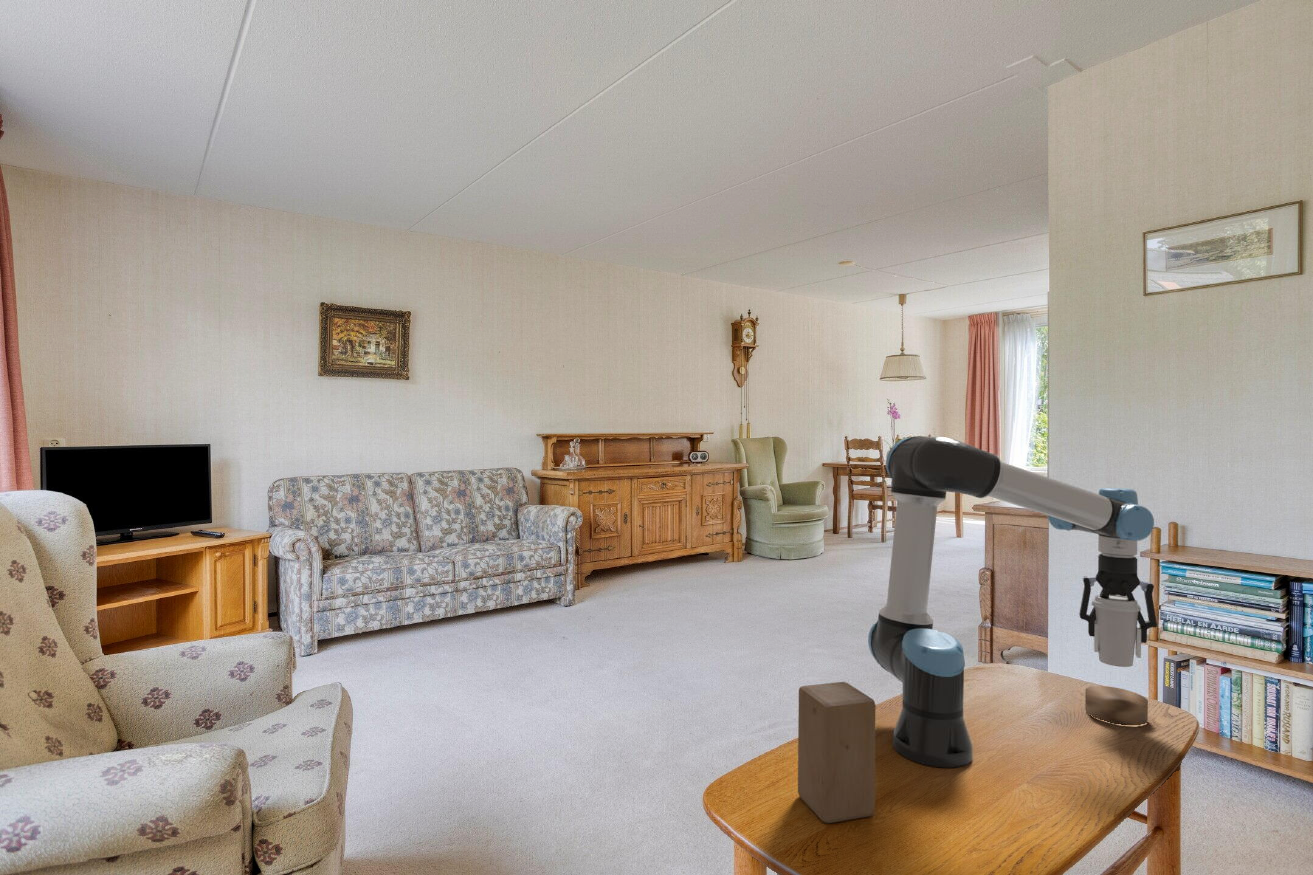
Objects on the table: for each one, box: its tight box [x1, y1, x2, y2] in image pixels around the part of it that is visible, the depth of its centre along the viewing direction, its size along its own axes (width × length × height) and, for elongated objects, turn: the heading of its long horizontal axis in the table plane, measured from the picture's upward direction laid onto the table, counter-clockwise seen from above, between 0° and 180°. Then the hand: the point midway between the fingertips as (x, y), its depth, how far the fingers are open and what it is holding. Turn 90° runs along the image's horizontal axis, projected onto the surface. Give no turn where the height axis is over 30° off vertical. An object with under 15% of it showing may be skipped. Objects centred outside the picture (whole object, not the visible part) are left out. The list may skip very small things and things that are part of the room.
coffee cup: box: [1091, 593, 1142, 668], centre depth 158 cm, size 10×10×15 cm
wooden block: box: [797, 681, 876, 824], centre depth 118 cm, size 10×10×20 cm
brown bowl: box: [1084, 685, 1149, 725], centre depth 158 cm, size 12×12×5 cm
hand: (1116, 653), depth 158 cm, fingers closed on coffee cup, 7 cm apart
